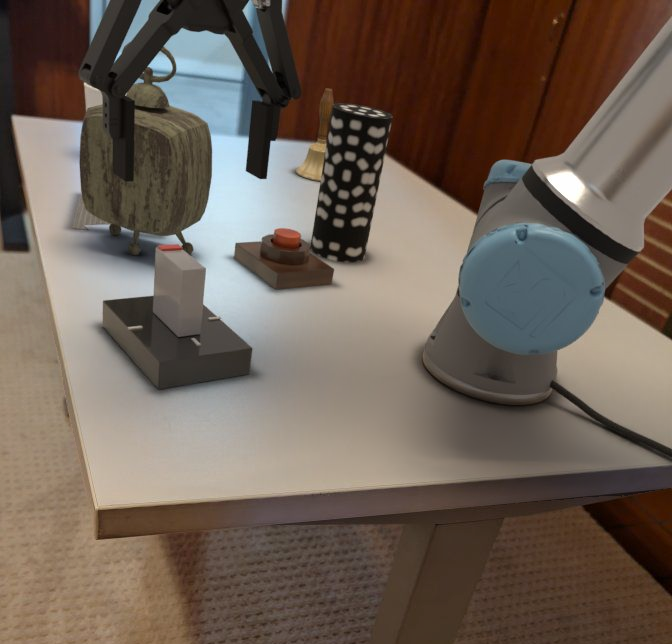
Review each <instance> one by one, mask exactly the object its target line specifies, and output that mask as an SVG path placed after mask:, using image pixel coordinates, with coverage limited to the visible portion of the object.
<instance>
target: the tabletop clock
mask: <svg viewBox="0 0 672 644" xmlns="http://www.w3.org/2000/svg"><path fill="white" fill-rule="evenodd" d="M130 42H131V41H129V42H128V43H126V45H124V46H123V48H122V51H121V53H122V52H123V51H124V50H125V48H126V47H127V46H128V45H129V43H130ZM160 53H162V54H164V55H165V56H166V57H167V59H168V60H169V62H170V63H171V66H172V68H171V72H170V73H168V74H166V75H162V76H157V75H154V70H153V68H152V67H150V66H148V67H147V68H146V69H145V71H144V72H143V73H142V74H141V76H140V77H139V78H138V79H140V80H141V81H143V82H136V83H134V84H133V86H132V87H131V88H130V90H129V91H128V92H127V94H126V96H127V97H129V98H131V99H132V100H134V101H135V122H134V181H126V182H125V181H124V180H123V179H121V178H120V177H118V176H117V175H116V174H114V173H113V138H110V137H109V136H107V135H106V134H105V133H104V130H103V104H102V105H98V106H94V107H90V108H88V109H87V111H86V110H85V114H84V117H83V119H82V125H81V131H80V140H79V179H80V193H81V195H82V199H83V203H84V206H85V208H86V210H87V211H88V212H90V213H91V214H92V215H94V216H96V217H98V218H99V219H101V220H103V221H106V222H108V223H111V224H109V226H108V230H109V233H110V234H112V235H113V236H118V235H120V234H121V232H122V228H123V229H125V230H129V231H132V232H133V239H132V241H133V242H131V243H129V244H128V246H127V250H128V253H129V254H130V255H131V256H138V255H140V253H141V246H140V245H139V243H138V242H139V238H140V233H141V234H147V235H152V236H158V237H169V236H176V237H177V239H178V241H179V242H180V243H181V244H182V245H180V246H181V247H182V248H183V250H184V251H185V252H186V253H188V254H189V255H191V254H193V252H194V246H193V244H192V243H191V242H188V241H186V239H185V236H184V235H183V233H182V232H183V231H184V230H186V229H188V228H190V227H192V226H193V225H195V224H197V223H198V222H200V221H201V220H202V218H203V216H204V214H205V212H206V209H207V206H208V202H209V197H210V191H211V185H212V177H213V144H212V143H213V142H212V134H211V131H210V127H209V124H208V122H207V121H205V120H204V119H202V118H201V117H200V116H198V115H196V114H195V113H193V112H190V111H187V110H185V109H182V108H179V107H175V106H173V105H170V102H169V99H168V96H167V94H166V93H165V92H164V90H163V89H162V87H160V86H159V85H157V84H154V83H159V84H160V83H165V82H169V81H170V80H171V79H172V78H174V77H175V75H176V73H177V69H178V68H177V63H176V59H175V57H174V55H173V54H172V53H171V51H170V50H169V49H168V48H167V47H165V45H164V46H163V48H162V49H161V50H160Z"/></svg>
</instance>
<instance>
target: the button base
mask: <svg viewBox="0 0 672 644" xmlns="http://www.w3.org/2000/svg"><path fill="white" fill-rule="evenodd" d="M273 236H274V233H272V234H271V233H270V234H267V235H264V236H262V237H261V240H260V241H245V242H235V245H234V254H233V259H235V260H237V262H239V263H240V264H241V265H242V266H244V267H245V268H247V270H249V271H250V272H252V273H253V274H254V275H255V276H257V277H258V278H260V280H262V281H263V282H265V283H266V284H268V285H269V286H270V287H272V288H273V289H274V290H275V291H276V290H285V289H294V288H305V287H315V286H325V285H326V286H327V285H332V284H333V280H334V279H333V278H334V273H335V268H334V267H332V266H331V265H329V264H328V263H326V262H324V261H323V260H322V259H320V258H319V257H317V256H316V255H314V253H311V248H310V246H311V243H309V242H308V241H306V240H304V239H302V238H301V239H300V246H299V248H295V249H289V248H282V247H279V246H276V245H274V244H273Z"/></svg>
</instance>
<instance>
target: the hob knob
mask: <svg viewBox="0 0 672 644" xmlns="http://www.w3.org/2000/svg"><path fill="white" fill-rule="evenodd" d="M181 246H182V245H180V244H179V243H176V244H161V245H160V244H158V245H157V246H156V247H155V253H154V254H155V255H154V274H153V275H154V276H153V277H154V278H153V295H152V296H153V313H154V314H155V315H156V316H157V317H158V318H159V319H160V320H161V321H162V322H163V323H164V324H165V325H166V326H167V327H168V328H169V329H170V330H171V331H172V332H174V333H175V334H176V335H177V336H178V337H183V336H191V335H198V334H201V323H202V311H203V304H204V298H205V288H206V287H205V285H206V276H207V275H206V274H207V273H206V272H207V269H206V267H205V266H204V265H203V264H201V263H200V262H199V261H197V260H196V259H195V258H194V257H193V256H192V255H191V254H188V253H186V252H185V251H184V250H183V248H182V247H181Z"/></svg>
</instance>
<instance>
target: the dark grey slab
mask: <svg viewBox="0 0 672 644" xmlns="http://www.w3.org/2000/svg"><path fill="white" fill-rule="evenodd" d="M102 328H103V329H104V330H105V331H106V332H107V333H108V335H110V337H111V338H112V339H113V340H114V341H115V342H116V344H118V345H119V346H120V348H121V349H122V350H123V352H124V353H126V354H127V356H128V357H129V358H130V359H131V360H132V361H133V363H134V364H135V365H136V366H137V367H138V368H139V369H140V370H141V372H142V373H143V374H144V375H145V376H146V377H147V379H148V380H149V381H150V382H151V383H152V384H153V386H154V387H156V389H157V390H164V389H169V388H175V387H176V388H177V387H180V386H181V387H182V386H188V385H193V384H199V383H204V382H210V381H216V380H221V379H223V380H224V379H228V378H234V377H239V376H245V375H250V372H251V365H252V358H253V357H252V356H253V350H254V348H253V347H252V346H251V345H250V344H249V343H248V342H246V341H245V340H244V339H243V338H242V337H241V336H240V335H238V333H236V332H235V331H234V330H233V329H232V328H231V327H230V326H229V325H227V324H226V323H225V322H224V321H223V320H222V317H221V316H220V315H219V316H217V315H216V314H215V313H214V312H213V311H212V310H210V309H209V308H208V307H207V306H206V305H205V304H204V303H203V311H202V323H201V334H198V335H191V336H183V337H178V336H177V335H176V334H175V333H174V332H172V331H171V330H170V329H169V328H168V327H167V326H166V325H165V324H164V323H163V322H162V321H161V320H160V319H159V318H158V317H157V316H156V315H155V314H154V313H153V295H147V296H146V295H145V296H136V297H125V298H114V299H113V298H112V299H105V300H102Z"/></svg>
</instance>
